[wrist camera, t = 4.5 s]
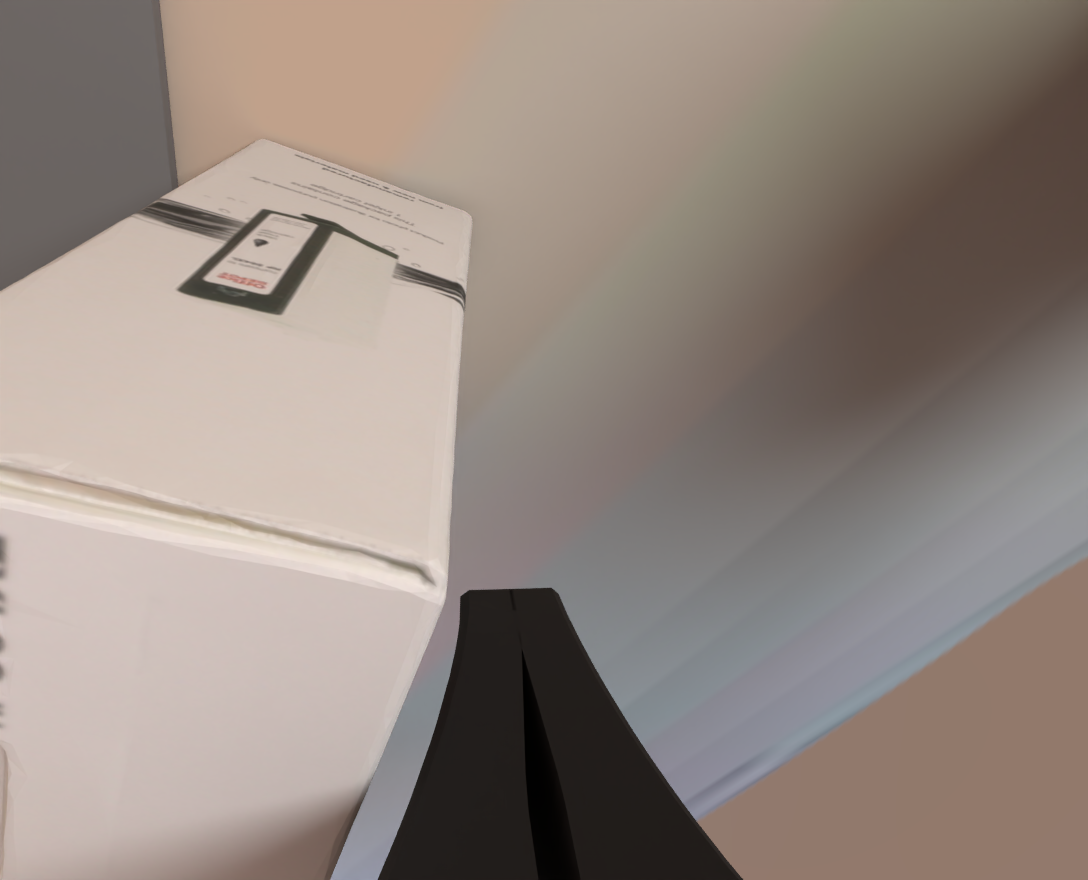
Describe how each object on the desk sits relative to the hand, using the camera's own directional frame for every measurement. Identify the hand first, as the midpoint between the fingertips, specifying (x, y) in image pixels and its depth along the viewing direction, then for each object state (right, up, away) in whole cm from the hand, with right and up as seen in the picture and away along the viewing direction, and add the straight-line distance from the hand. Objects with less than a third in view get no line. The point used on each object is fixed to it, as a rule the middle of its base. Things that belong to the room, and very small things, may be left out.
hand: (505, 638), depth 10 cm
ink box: (-5, +5, +7) cm, 10 cm away
